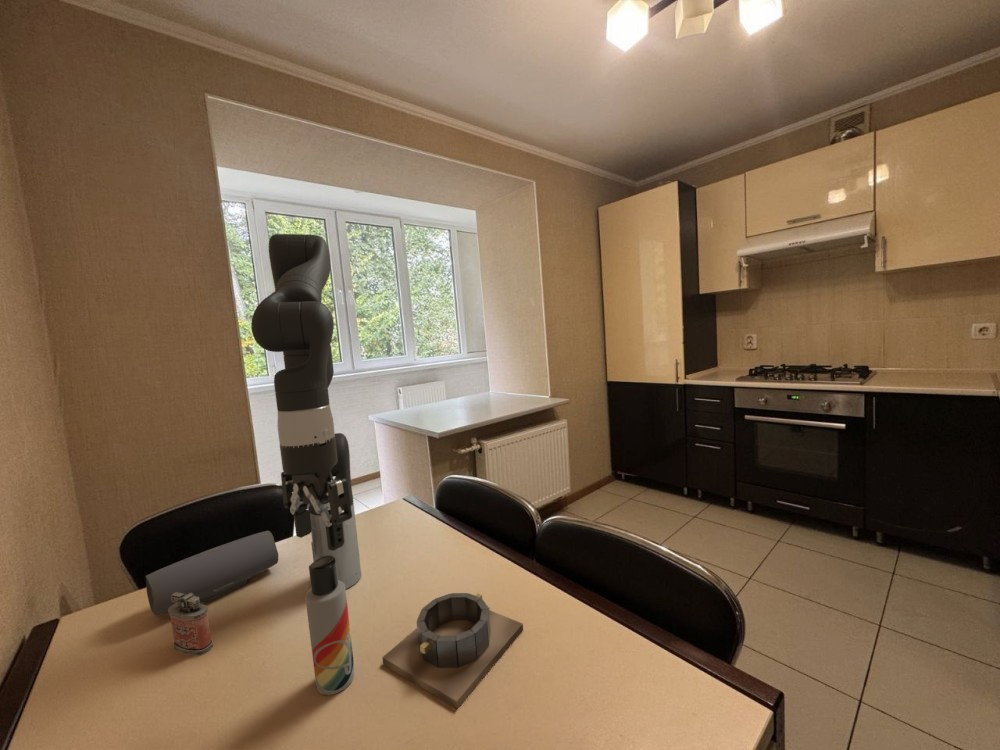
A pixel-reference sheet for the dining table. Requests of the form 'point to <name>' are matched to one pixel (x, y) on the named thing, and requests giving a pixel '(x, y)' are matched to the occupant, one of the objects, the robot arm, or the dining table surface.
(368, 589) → the dining table surface
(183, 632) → the lighter
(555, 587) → the dining table surface
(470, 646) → the ring
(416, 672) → the base plate
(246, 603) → the dining table surface
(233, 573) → the bluetooth speaker
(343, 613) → the lotion bottle
